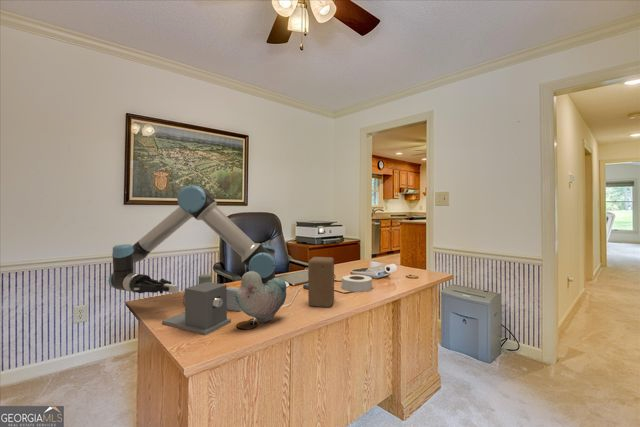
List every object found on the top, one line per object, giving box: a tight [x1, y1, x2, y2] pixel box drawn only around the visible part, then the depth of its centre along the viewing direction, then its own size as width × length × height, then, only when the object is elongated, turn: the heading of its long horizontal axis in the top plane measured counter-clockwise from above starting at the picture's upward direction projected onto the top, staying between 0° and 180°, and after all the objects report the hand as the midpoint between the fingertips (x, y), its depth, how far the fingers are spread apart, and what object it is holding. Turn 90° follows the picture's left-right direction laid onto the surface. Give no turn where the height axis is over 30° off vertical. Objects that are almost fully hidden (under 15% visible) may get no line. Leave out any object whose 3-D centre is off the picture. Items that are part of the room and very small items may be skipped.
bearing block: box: [161, 282, 232, 336], centre depth 110 cm, size 22×12×14 cm, turn 64°
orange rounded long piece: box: [182, 293, 223, 307], centre depth 108 cm, size 14×8×8 cm, turn 64°
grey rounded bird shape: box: [235, 270, 287, 323], centre depth 110 cm, size 21×9×20 cm, turn 130°
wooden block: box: [307, 256, 335, 308], centre depth 131 cm, size 10×10×20 cm
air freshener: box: [198, 273, 213, 284], centre depth 143 cm, size 11×8×10 cm
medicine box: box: [226, 286, 243, 312], centre depth 124 cm, size 8×4×9 cm, turn 71°
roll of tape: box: [341, 274, 373, 293], centre depth 156 cm, size 16×16×6 cm
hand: (176, 289), depth 114 cm, fingers closed
